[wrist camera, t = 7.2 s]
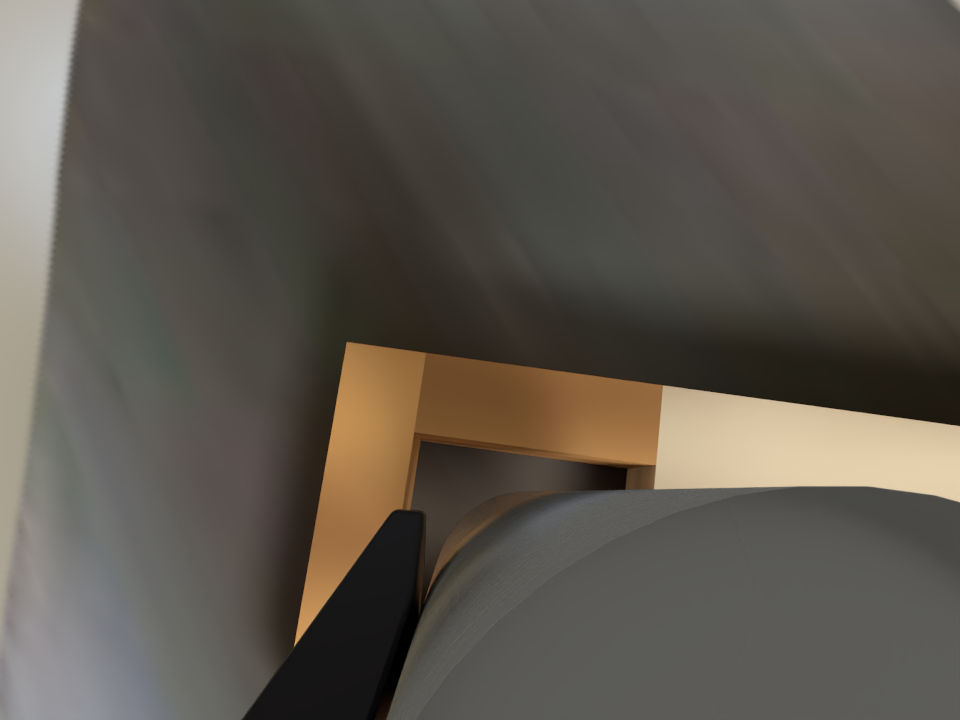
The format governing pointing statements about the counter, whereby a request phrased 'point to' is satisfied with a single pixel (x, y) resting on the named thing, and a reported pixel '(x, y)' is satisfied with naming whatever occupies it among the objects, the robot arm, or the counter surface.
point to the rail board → (588, 441)
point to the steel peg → (692, 608)
